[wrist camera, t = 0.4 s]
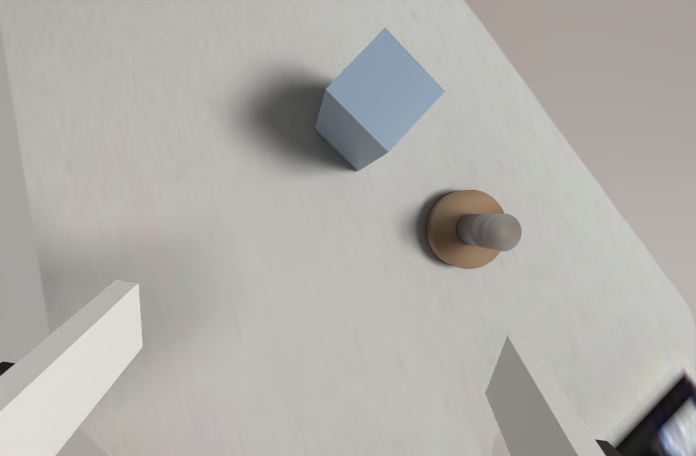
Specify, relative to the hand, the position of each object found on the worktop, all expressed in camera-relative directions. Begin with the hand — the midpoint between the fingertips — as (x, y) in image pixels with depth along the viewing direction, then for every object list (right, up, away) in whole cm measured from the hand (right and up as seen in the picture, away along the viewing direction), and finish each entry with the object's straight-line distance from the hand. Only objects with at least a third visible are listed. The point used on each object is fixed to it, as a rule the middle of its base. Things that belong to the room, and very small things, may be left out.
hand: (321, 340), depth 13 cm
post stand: (+13, +4, +26) cm, 30 cm away
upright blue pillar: (+2, +14, +24) cm, 28 cm away
